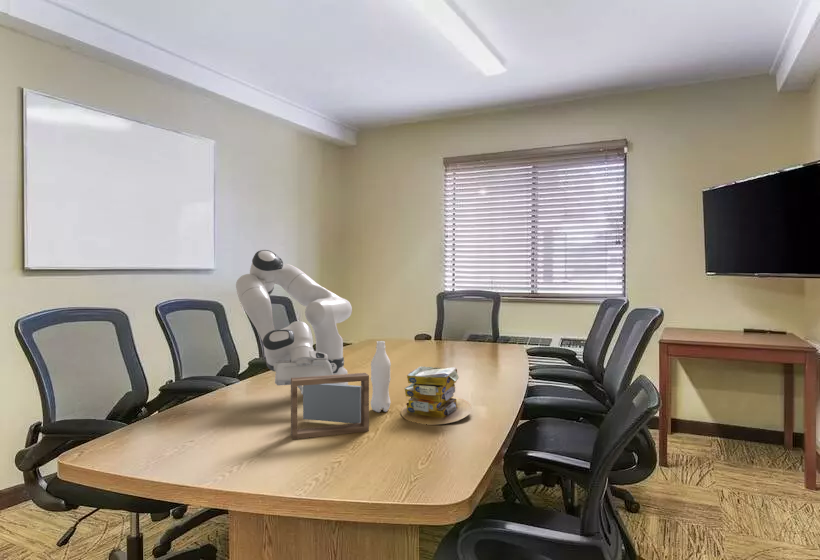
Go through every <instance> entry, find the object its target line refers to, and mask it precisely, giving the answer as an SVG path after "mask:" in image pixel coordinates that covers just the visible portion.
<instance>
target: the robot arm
mask: <svg viewBox="0 0 820 560" xmlns="http://www.w3.org/2000/svg"><path fill="white" fill-rule="evenodd" d="M251 262H252V263H251V266H250V268H249V273H246V274H243V275H241V276H239V278H238V279H237V280H236V283H235V288H236V289H235V290H236V293H237V297H238V300H239V302H240V304H241V306H242V308H243V311H245V314H246V316H248V318H249V320H250V321H251V323H252V324H253V327H254V328H255V329H256V331H257V333H258V335H259V337H260V340H261V342H262V345H263V349H264V350H263V351H264V356H265V361H266V362H265V363H266V367H267V368H268V369H269V370H270V371H272V372H274V373H275V376H274V377H275V378H274V383H275V385H276V386H291V378H296V377H311V376H325V375H340V374H348V370H347V368H345V367H344V366H345V360H344V359H345V357H344V339H343V337H342V336H341V335H340V334H339V329H338V327H337V325H338V324H340V323H344V322H345V321H346V320H348V319H349V318H350V317H351V315H352V313H353V307H352V304H351V302H350V301H349V300H348V299H346V298H344V297H341V296H339V295H338V294H336V293H334V292H332V291H331V290H328V289H327V288H325V287H323V286H322V285H320V284H319V283H318V282H316V281H315V280H314V279H313V278H312V277H310V276H309V275H308V274H306V273H305V272H304V271H303V270H301V269H300V268H298V267H297V266H294V265H292V264H290V263H284V261H283V259H282V258H280V257H279V256H278V255H277V254H276V253H275V252H273V251H271V250H269V249H260V250H258V251H256V252H255V253H254V255H253V258H252V260H251ZM275 285H278V286H280V287H282V289H283V290H285V293H287V294H288V295H289V296H290V297H292V298H293V299H294V300H295V301H296V302H297V303H299V304H300V305H302V306H303V307H305V311H304V314H305V319H306V321H307V322H308V323H309V324H308V323H306V322H304V321H301V320H298V321H296V320H295V321H293V322H291V323H289V324H288V325H287V326H285V327H284V328H281V329H275V324H274V319H273V308H272V307H273V305H272V302H271V298H270V295H271V294H272V293H273V291H274V289H275ZM309 325H311V327H310V326H309ZM311 328H312V329H311ZM312 330H313V333H314V334H313V333H312ZM313 335H314V337H315V349H314V347H313V346H314V337H313ZM329 384H339V385H349V382H343V383H329ZM297 389H298V390H300V392H301V393H300V395H303V385H302V386H297Z"/></svg>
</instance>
